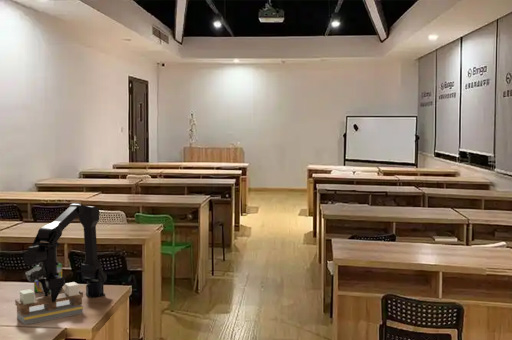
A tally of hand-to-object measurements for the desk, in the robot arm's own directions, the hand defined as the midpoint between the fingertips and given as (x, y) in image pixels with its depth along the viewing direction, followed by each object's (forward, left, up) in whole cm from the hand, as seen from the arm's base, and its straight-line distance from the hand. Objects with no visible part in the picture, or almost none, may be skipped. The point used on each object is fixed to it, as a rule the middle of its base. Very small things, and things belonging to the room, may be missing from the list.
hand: (49, 299), depth 214 cm
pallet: (0, 0, -4) cm, 4 cm away
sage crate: (+8, 0, 0) cm, 8 cm away
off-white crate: (-9, 0, 0) cm, 9 cm away
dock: (0, 0, -6) cm, 7 cm away
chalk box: (-10, -35, -7) cm, 37 cm away
